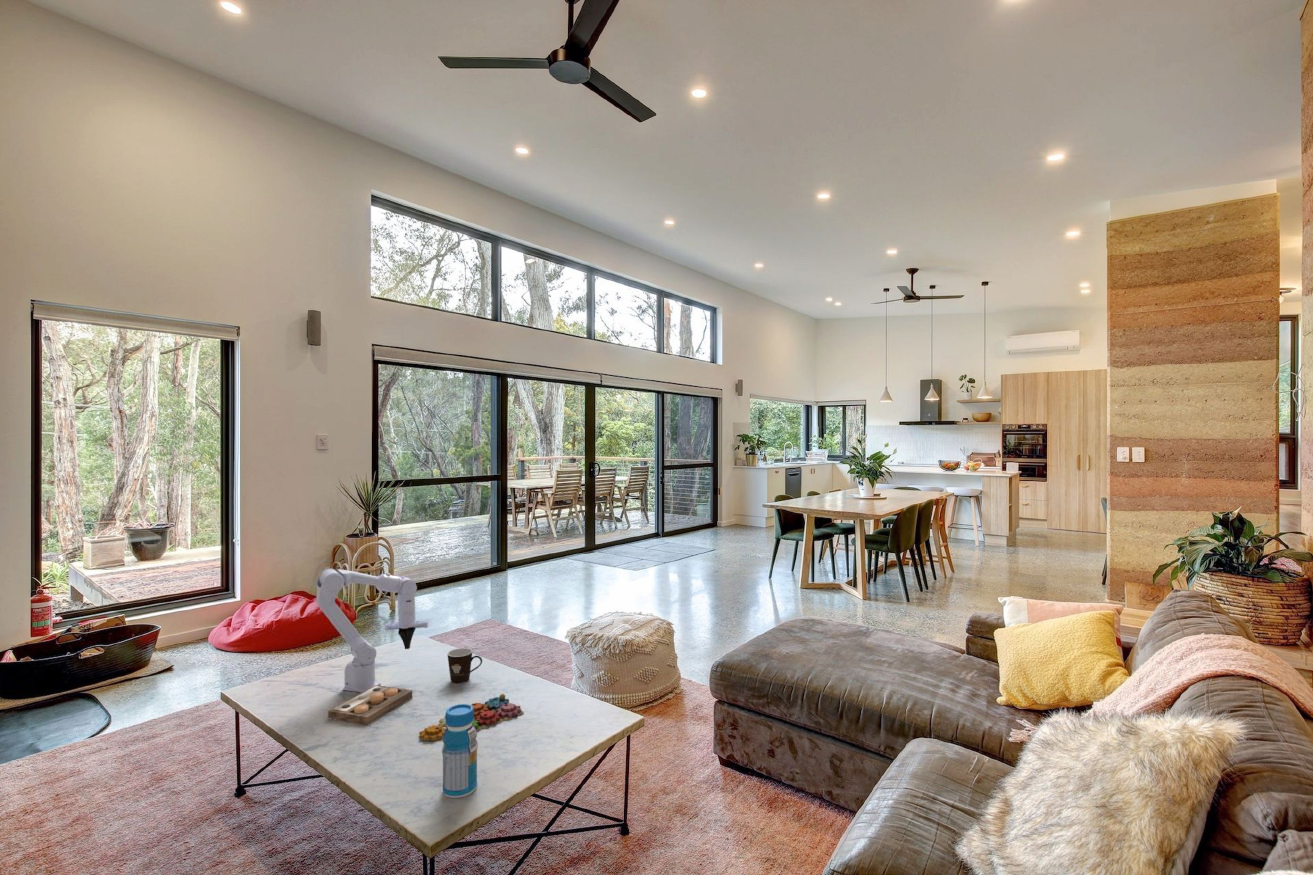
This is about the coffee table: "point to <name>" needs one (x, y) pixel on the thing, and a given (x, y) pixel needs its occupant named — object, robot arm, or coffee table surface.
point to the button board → (375, 710)
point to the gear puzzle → (479, 717)
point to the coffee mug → (460, 664)
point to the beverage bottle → (459, 752)
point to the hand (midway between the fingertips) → (407, 648)
